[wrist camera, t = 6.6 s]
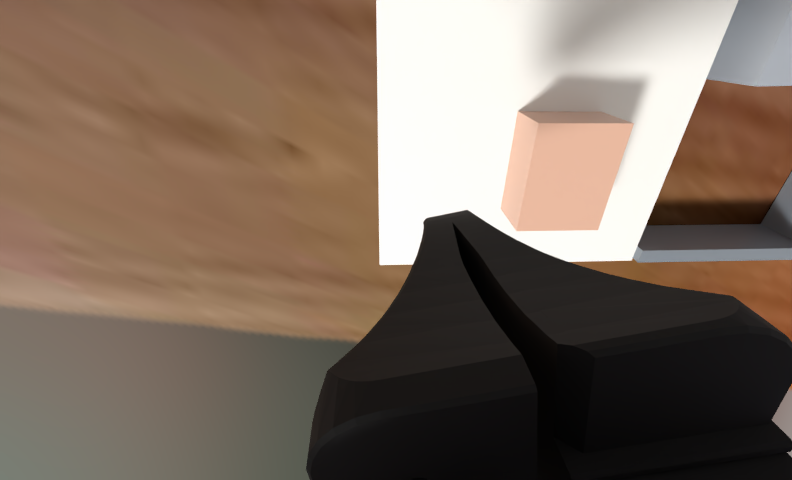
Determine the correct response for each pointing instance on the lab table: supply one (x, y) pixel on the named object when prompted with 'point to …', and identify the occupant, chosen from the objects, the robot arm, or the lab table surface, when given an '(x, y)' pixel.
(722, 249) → the grey rectangular frame
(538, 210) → the peach block
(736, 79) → the grey rectangular block
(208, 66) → the lab table surface
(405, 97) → the board
